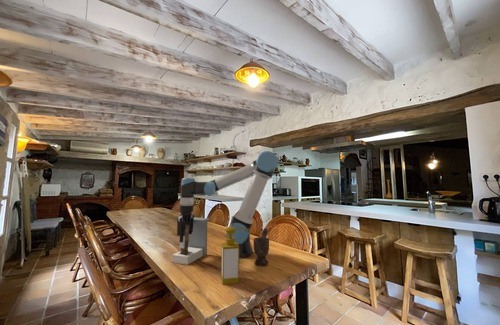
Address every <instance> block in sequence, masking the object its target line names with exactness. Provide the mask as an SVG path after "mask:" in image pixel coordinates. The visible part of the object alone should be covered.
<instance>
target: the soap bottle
mask: <svg viewBox="0 0 500 325" xmlns="http://www.w3.org/2000/svg"><path fill="white" fill-rule="evenodd" d="M236 229H246V228H234V227H229V226H228V227H226V228H224V231H225V232H226V235H227V234H229V238H227V237H226V239H225V240H226V242H221V266H220V267H221V271H220V272H221V273H220V275H221V278H220V279H221V285H230V284H231V285H232V284H239V283H240V258H239V245H238V243H237V242H234V238H232V234H234V233H235V230H236ZM246 230H250V231H251V229H246Z"/></svg>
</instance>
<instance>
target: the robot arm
mask: <svg viewBox="0 0 500 325" xmlns="http://www.w3.org/2000/svg"><path fill="white" fill-rule="evenodd" d="M278 166H279V159H278V157H277V155H276V154H275V153H274V152H272V151H269V150H266V151H265V150H263V152H260V153H259V154H258V155H257V157H256V159H255V160H253V161H252V162H251V163H250V164H248V165H246V166H243V167H241V168H239V169H236V170H234V171H231V172H229V173H227V174H224V175H222V176H220V177H217V178H215V179H212V180H210V181H196V180H195V178H193V177H183V178H182V179H181V183H180V197H179V198H180V199H179V204H180V205H179V212H180V215H179V217H177V218H176V220H177V229H176V236H177V237H179V249H181V248H184V246H185V236H184V233H185V227H186V225H189V239H188V246H189V244H190V234H192V232H193V222H194V217H195V214H193V213H192V212H194V203H195V196H196V195H198V196H214V194H215V193H216V192H218V191H222V190H223V189H226V188H228V187H230V186H233V185H235V184H237V183H238V184H239V183H241V182H242V181H245V180H247V179H250V178H251V180H250V183H249V185H248V187H247V190H246V192H245V194H244V197H243V200H242V201H241V204H240V206H239V209H238V212H237V213H235V214H233V216H231V218H230V219H231V222H230V223H229V225H228V227H234V228H246V229H250V230H246V229H236V230H235V233H234V234H232V238H234V242H237V243H238V245H239V259H241V258H242V259H243V258H249V257H250V256H252V255H253V254H254V253H253V250H254V248H253V247H252V243H251V229H252V227H253V224H254V221H253V220H252V219H253V216H254V214H255V212H256V209H257V207H258V205H259V202H260V200H261V198H262V195H263V193H264V191H265V188H266V186H267V183H268V181H269V180H271V179H272V178H273V175H274V173H275V172H276V171H275V170H276V168H277V167H278ZM227 238H229V234H227V233H226V239H227Z"/></svg>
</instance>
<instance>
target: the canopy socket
mask: <svg viewBox="0 0 500 325" xmlns="http://www.w3.org/2000/svg"><path fill="white" fill-rule="evenodd" d="M209 221H210V219H209V217H195V216H194V222H193V232H192V234H190V244H189V246H188V254H187V255H181V254H180V251H181V250H180V251H178V252H175V253H173V254H172V260H171V262H172V263H173V262H174V264H181V265H188V266H189V264H191V263H193V262H194V261H196V260H198V259H200V258H201V257H202V256H207V254H208V253H207V252H208V222H209Z"/></svg>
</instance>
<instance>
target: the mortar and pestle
mask: <svg viewBox="0 0 500 325" xmlns="http://www.w3.org/2000/svg"><path fill="white" fill-rule="evenodd" d="M268 234H269V229H268V228H263V229H262V234H261V236H259V237H258V236H257V237H254V238H253V250H254V254H255V255H256V257H257V258H256V259H255V260H254V264H255V266H260V267H261V266H262V267H265V266H267V265H269V261H268V259H267V258H266V257H267V255H268V253H269V250H270V239H269V237H267V236H268Z"/></svg>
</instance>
